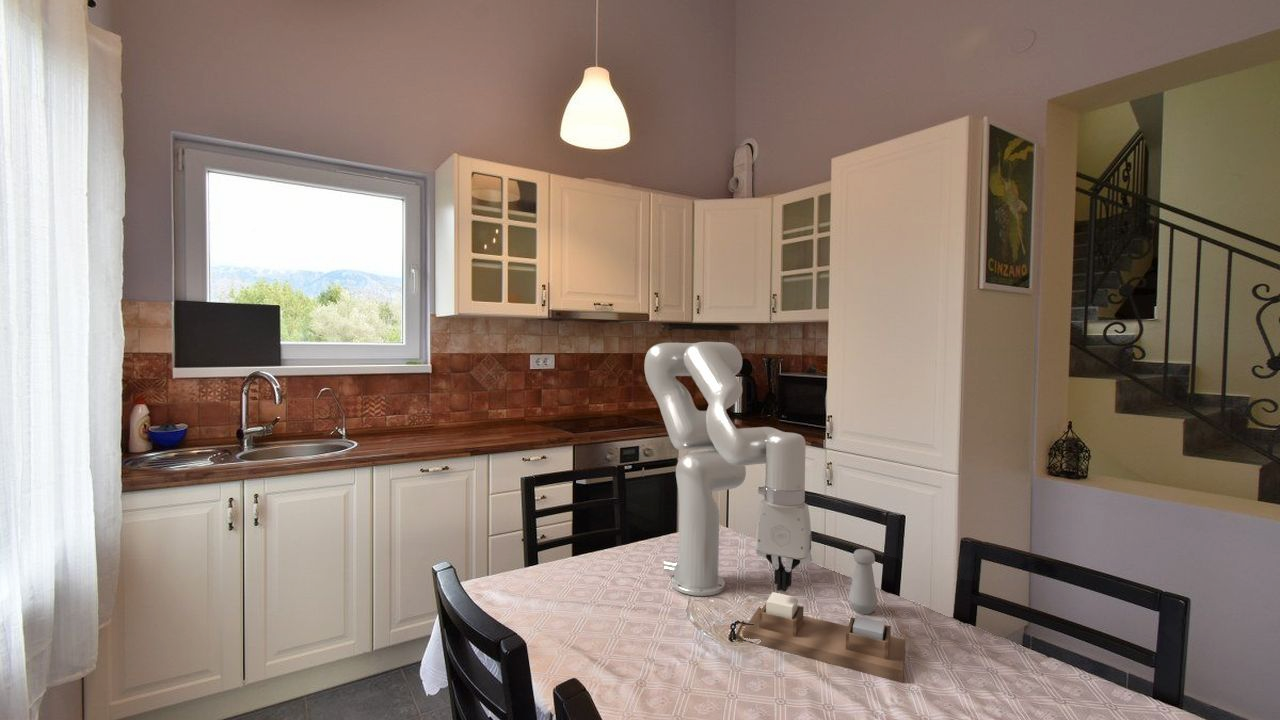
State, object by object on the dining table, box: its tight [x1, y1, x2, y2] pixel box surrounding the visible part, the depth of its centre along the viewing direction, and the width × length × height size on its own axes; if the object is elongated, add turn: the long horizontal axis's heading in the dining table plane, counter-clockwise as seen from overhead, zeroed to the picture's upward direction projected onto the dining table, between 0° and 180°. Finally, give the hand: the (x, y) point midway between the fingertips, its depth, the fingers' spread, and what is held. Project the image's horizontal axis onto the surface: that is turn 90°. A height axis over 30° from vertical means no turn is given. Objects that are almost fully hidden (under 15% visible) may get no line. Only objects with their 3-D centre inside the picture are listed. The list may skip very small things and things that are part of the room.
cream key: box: [765, 591, 799, 619], centre depth 112 cm, size 5×5×2 cm
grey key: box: [853, 615, 886, 640], centre depth 104 cm, size 5×5×2 cm
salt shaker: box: [848, 548, 879, 616], centre depth 123 cm, size 6×6×13 cm
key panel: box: [742, 603, 907, 683], centre depth 108 cm, size 28×12×5 cm, turn 62°
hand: (782, 588), depth 112 cm, fingers closed
